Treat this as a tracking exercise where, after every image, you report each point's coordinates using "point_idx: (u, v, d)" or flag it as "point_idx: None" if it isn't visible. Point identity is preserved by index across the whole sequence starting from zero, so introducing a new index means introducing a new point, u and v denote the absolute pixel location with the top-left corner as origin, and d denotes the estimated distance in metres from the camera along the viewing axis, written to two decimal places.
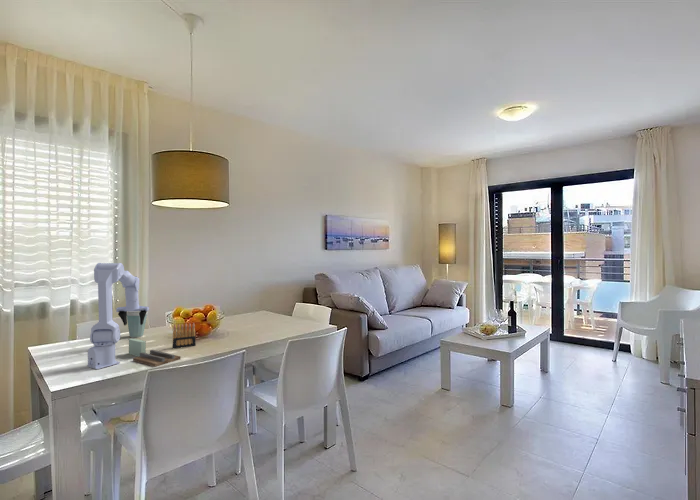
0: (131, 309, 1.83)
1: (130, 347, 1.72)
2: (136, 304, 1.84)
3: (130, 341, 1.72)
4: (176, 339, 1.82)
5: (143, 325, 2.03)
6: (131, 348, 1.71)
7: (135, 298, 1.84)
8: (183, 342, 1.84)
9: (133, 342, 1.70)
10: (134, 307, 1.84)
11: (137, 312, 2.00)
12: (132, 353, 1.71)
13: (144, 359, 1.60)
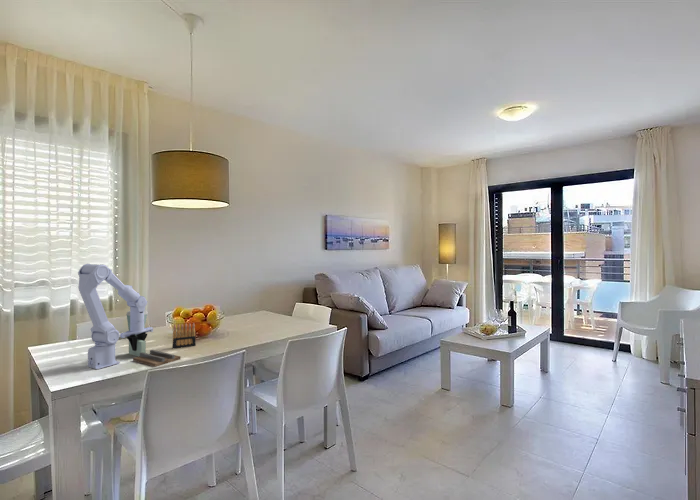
0: (141, 330, 1.70)
1: (130, 346, 1.72)
2: None
3: None
4: (176, 339, 1.82)
5: None
6: (131, 348, 1.71)
7: (137, 320, 1.68)
8: (183, 342, 1.84)
9: None
10: (143, 328, 1.71)
11: None
12: (132, 353, 1.71)
13: (144, 359, 1.60)
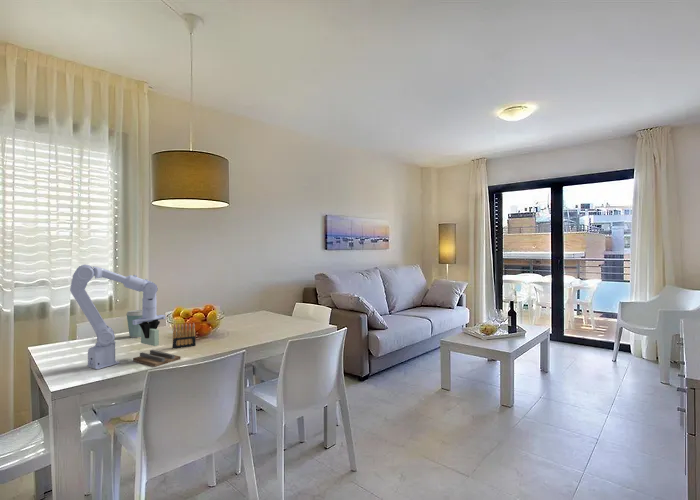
0: (154, 318, 1.65)
1: (142, 335, 1.67)
2: (156, 312, 1.67)
3: None
4: (176, 339, 1.82)
5: None
6: (143, 337, 1.67)
7: (145, 306, 1.63)
8: (183, 342, 1.84)
9: None
10: (156, 315, 1.66)
11: (137, 312, 2.00)
12: (144, 342, 1.66)
13: (144, 359, 1.60)
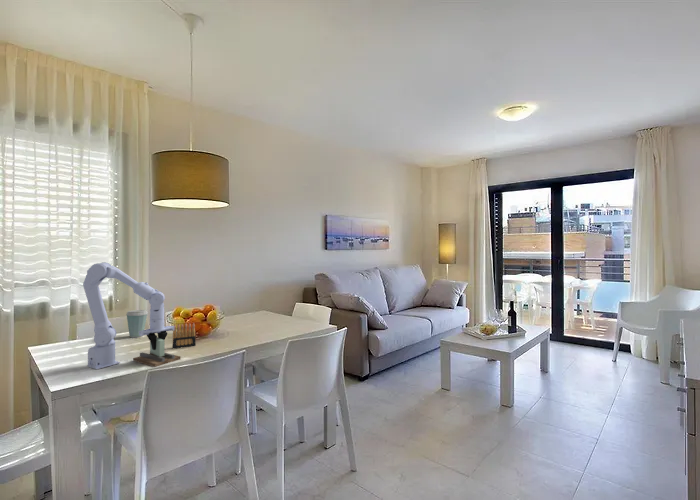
0: (161, 329, 1.62)
1: (151, 345, 1.65)
2: None
3: None
4: (176, 339, 1.82)
5: (143, 325, 2.03)
6: None
7: (152, 318, 1.61)
8: (183, 342, 1.84)
9: None
10: (163, 327, 1.63)
11: (137, 312, 2.00)
12: (152, 352, 1.64)
13: (144, 359, 1.60)
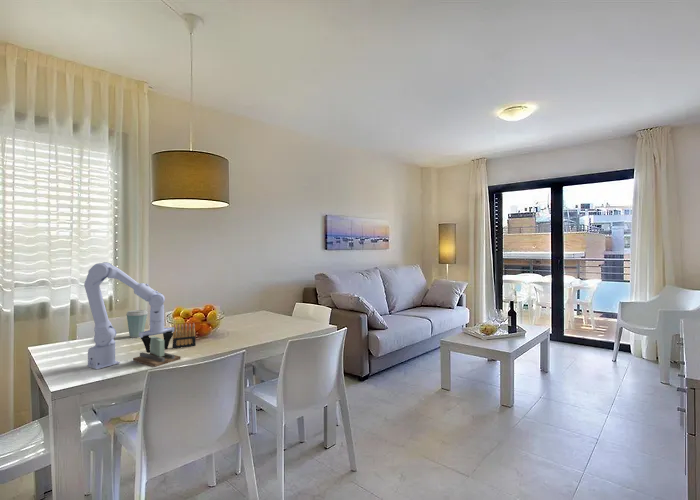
0: (160, 331, 1.62)
1: (151, 345, 1.65)
2: None
3: (151, 339, 1.65)
4: (176, 339, 1.82)
5: (143, 325, 2.03)
6: (152, 346, 1.64)
7: (152, 319, 1.61)
8: (183, 342, 1.84)
9: (153, 340, 1.63)
10: (163, 328, 1.63)
11: (137, 312, 2.00)
12: (152, 352, 1.64)
13: (144, 359, 1.60)
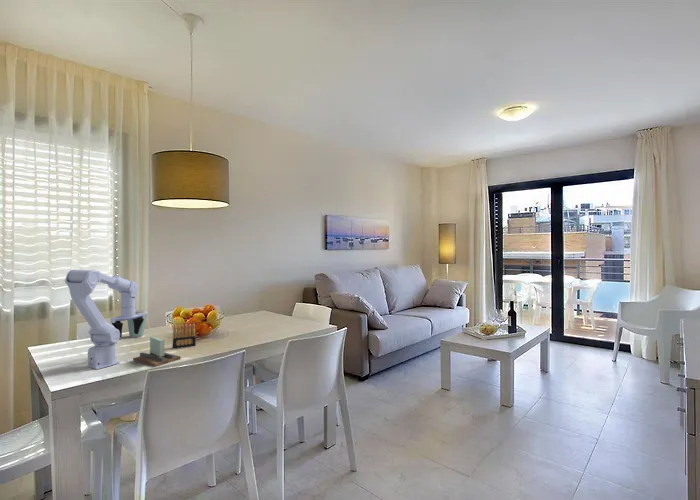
0: (132, 316, 1.68)
1: (151, 345, 1.65)
2: None
3: (151, 339, 1.65)
4: (176, 339, 1.82)
5: (143, 325, 2.03)
6: (152, 346, 1.64)
7: (129, 305, 1.67)
8: (183, 342, 1.84)
9: (153, 340, 1.63)
10: (134, 314, 1.70)
11: (137, 312, 2.00)
12: (152, 352, 1.64)
13: (144, 359, 1.60)
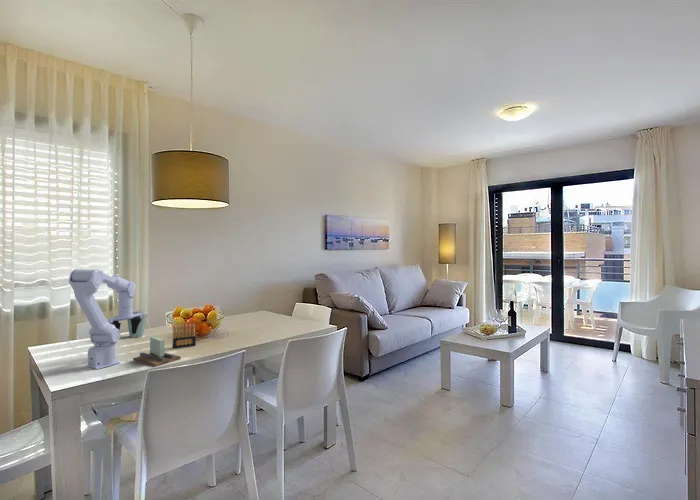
0: (130, 316, 1.69)
1: (151, 345, 1.65)
2: (132, 310, 1.71)
3: (151, 339, 1.65)
4: (176, 339, 1.82)
5: (143, 325, 2.03)
6: (152, 346, 1.64)
7: (128, 305, 1.68)
8: (183, 342, 1.84)
9: (153, 340, 1.63)
10: (132, 314, 1.70)
11: (137, 312, 2.00)
12: (152, 352, 1.64)
13: (144, 359, 1.60)
